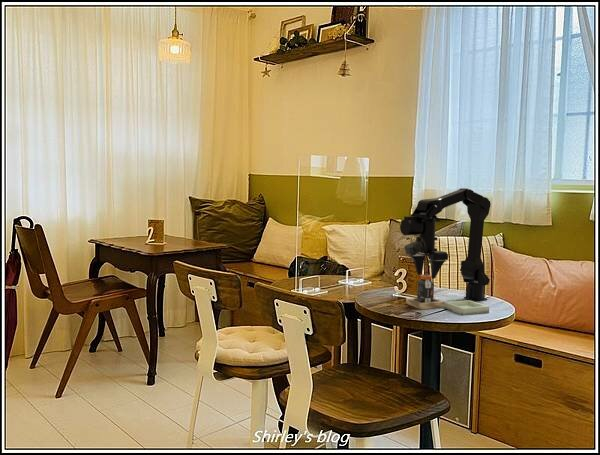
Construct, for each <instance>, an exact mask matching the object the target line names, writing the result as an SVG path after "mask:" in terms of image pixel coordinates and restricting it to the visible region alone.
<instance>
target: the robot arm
mask: <svg viewBox="0 0 600 455" xmlns="http://www.w3.org/2000/svg"><path fill="white" fill-rule="evenodd" d="M460 202H462V204H463V205H465V206H466V208H467V214H468V217H469V219H470V223H469V234H468V247H467V254H466V258H465V259H464V260H461V262H460V269H459V271H460V274H461V277H462V279H463V283H466V287H465V296H463V298H464V299H465V300H470V301H473V302H477V301H479V302H480V301H487V300H488V297H487V298H486V296H485V295H486V294H485V293H486V286H487V285H488V286H489V284H490V278H489V277H488V275H487V274H486V273H485V264H484V262H483V260H482V248H483V236H484V225H485V224H484V223H485V220H486V219H487V217H489V216H488V215H489V214H490V210H491V207H492V206H491V205H492V204H491V200H490V199H489V198H488V197H486V196H484V195H481V194H480V193H477V192H475V191H473V189H470V188H465V187H464V188H463V187H462V188H458V189H456V190H454V191H452V192H449V193H447V194H444V195H441V196H438V197H435V198H434V197H433V198H425V199H424V198H423V199H421V200H419V201H418V202H417V205H416V207H415V209H414V210H413V212H412V213H411V215H409V216H408V215H407V216H406V215H405V216H404V217H403V220H402V221H401V222H400V225H399V229H400V232H401V234H402V235H403V236H416V237H415V241H413V242H410V243H408V244H406V245H404V246H403V247H404V250H405V254H406V255H407V256H408V257H409V258H411V260H412V261H413V264H414V268H415V270H416V273H417V275H418V276H419V275H420V276H421V275H422V271H423V267H424V263H425V260H426V257H428V260H427V262H428V263H429V264H430V271H431V272H430V274H431V276H432V279H431V280H434V279H436V278H437V275H438V273H439V272H440V270H441V268H442V266H443V264H444V263H445V262H446V261H447V260H449V253H448V252H447V251H443V250H442V251H441V250H438V248H437V247H436V241H438V237H437V236H436V223H437V222H441V219H440V218H439V217H438V216H437V215H438V214H439V213H441V212H442V211H443V210H444V209H445V208H448V207H451V206H453V205H455V204H458V203H460ZM417 235H418V236H417Z"/></svg>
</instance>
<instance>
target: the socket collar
mask: <svg viewBox="0 0 600 455" xmlns="http://www.w3.org/2000/svg"><path fill="white" fill-rule="evenodd" d="M444 302H445V301H443V300H440V299H437V298H434V302H427V303H421V302H419V301H417V297H406V299H405V303H406V305H408V306H411V307H415V308H416V309H419V310H428V309H440V308H444Z"/></svg>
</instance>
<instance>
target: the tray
mask: <svg viewBox="0 0 600 455" xmlns="http://www.w3.org/2000/svg"><path fill="white" fill-rule="evenodd" d="M443 308H444V309H445V310H448V311H451V312H454V313H456V314H457V313H458V314H460V315H462V316H463V315H464V316H465V315H466V316H467V315H475V314H485V313H490V306H489V305H487V304H483V303H479V302H477V301H473V300H469V299H465V300H458V301H456V300H455V301H444V307H443Z"/></svg>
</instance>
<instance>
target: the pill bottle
mask: <svg viewBox="0 0 600 455" xmlns="http://www.w3.org/2000/svg"><path fill="white" fill-rule="evenodd" d="M434 288H435V282H434V281H433V279H432V276H431V275H430V274H420V280H418V281H417V292H416V295H417V296H416V298H417V301H419V302H421V303H427V302H434V296H435V293H434V292H435V289H434Z"/></svg>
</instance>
